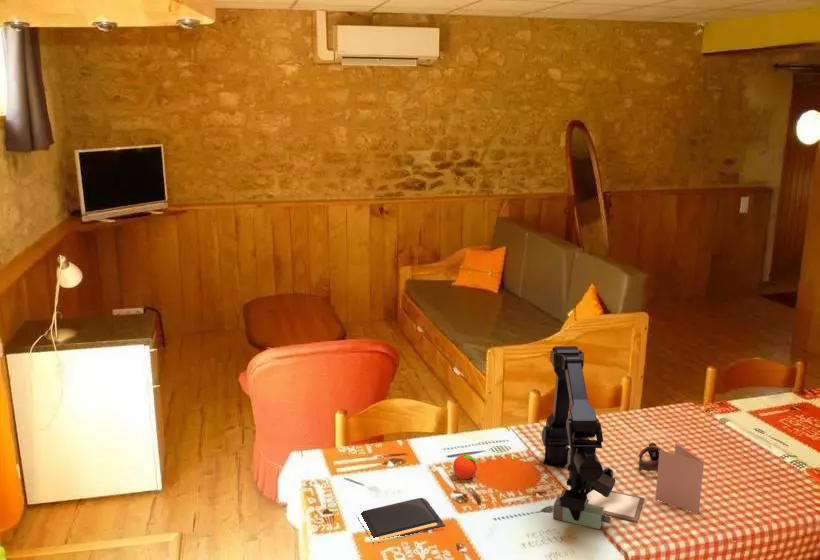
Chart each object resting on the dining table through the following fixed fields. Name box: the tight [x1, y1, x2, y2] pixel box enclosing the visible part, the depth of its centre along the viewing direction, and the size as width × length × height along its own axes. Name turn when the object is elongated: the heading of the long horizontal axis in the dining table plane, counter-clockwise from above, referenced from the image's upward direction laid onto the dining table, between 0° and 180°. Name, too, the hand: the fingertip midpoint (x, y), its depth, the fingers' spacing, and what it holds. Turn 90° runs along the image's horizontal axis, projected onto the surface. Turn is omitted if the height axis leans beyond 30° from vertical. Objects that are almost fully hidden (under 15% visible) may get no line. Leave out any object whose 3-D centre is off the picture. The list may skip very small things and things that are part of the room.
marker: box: [552, 496, 612, 530], centre depth 184 cm, size 14×4×4 cm, turn 64°
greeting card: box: [655, 442, 705, 515], centre depth 189 cm, size 11×7×15 cm, turn 17°
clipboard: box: [587, 490, 645, 524], centre depth 192 cm, size 18×12×1 cm, turn 64°
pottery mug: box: [637, 442, 665, 472], centre depth 210 cm, size 12×10×8 cm
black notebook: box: [361, 497, 446, 539], centre depth 186 cm, size 20×2×15 cm
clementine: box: [452, 453, 480, 480], centre depth 205 cm, size 8×7×7 cm
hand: (578, 516), depth 184 cm, fingers closed on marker, 4 cm apart
